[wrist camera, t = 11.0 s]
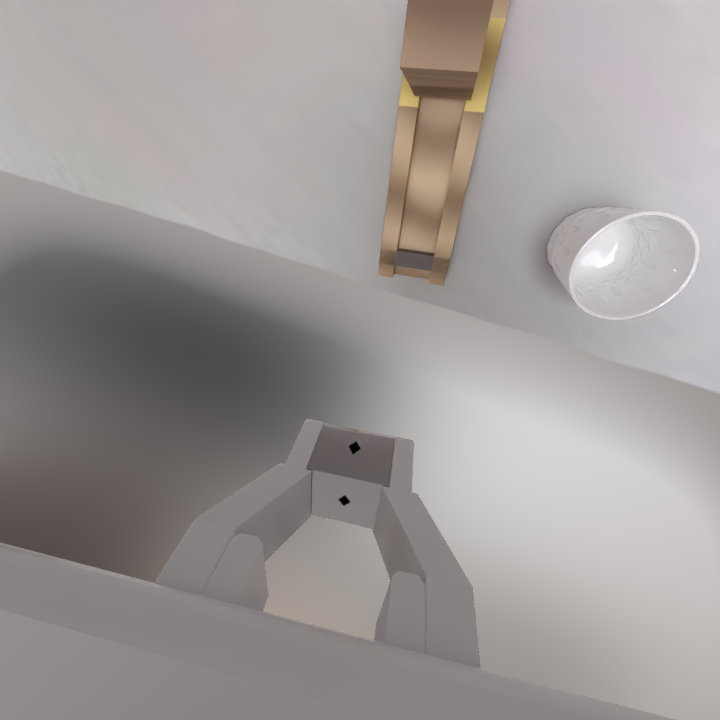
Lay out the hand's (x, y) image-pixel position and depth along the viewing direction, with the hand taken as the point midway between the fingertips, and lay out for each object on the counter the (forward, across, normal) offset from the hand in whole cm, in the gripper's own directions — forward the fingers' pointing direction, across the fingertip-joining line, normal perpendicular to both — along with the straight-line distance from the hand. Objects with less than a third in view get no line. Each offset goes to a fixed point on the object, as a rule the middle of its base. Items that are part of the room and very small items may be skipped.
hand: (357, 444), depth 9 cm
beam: (+32, +1, +7) cm, 33 cm away
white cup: (+31, +17, +1) cm, 35 cm away
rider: (+30, +1, +13) cm, 32 cm away
